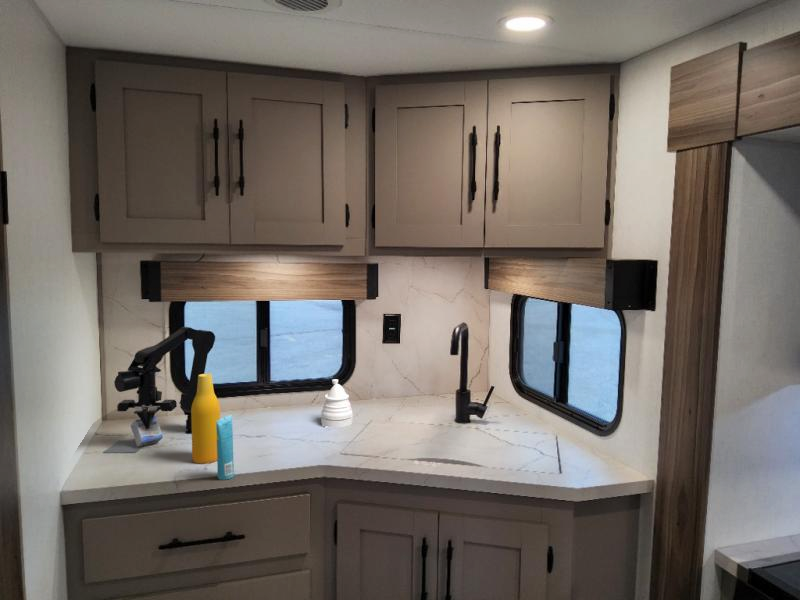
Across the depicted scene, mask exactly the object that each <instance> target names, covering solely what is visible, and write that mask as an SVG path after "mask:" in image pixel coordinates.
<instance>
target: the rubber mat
mask: <svg viewBox="0 0 800 600" xmlns="http://www.w3.org/2000/svg"><path fill="white" fill-rule="evenodd" d="M141 447H142V446H138V447H137V444H136V441H135V439H129V440H128V439H122V440H121V439H118V440H116V442H115V443H112V445H110V446H109V447H108V448H107V449H105V450H104V451H103V452H102V453H103V454H136V453H137V452H139V450H141V449H140V448H141ZM142 448H143V447H142Z"/></svg>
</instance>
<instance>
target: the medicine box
mask: <svg viewBox="0 0 800 600" xmlns="http://www.w3.org/2000/svg"><path fill="white" fill-rule="evenodd" d="M130 428H131V432H132V434H133V438H134V440H135V441H136V444H137V447H138V446H143V445H144V446H146V445H152V444H155V443H159V442H160V441H161V440H162V439H163V438H164V436H163V432H162V430H161V427H160V424H159V421H158V419H157V416H154V417H153V420H152V423H151V426H150V428H149V429H146V428H145V426H144V424H143V422H142V421H141V419H140V418H139V419H136V420H134V421H133V422H132V423H131V425H130ZM144 446H143V447H144Z"/></svg>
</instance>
